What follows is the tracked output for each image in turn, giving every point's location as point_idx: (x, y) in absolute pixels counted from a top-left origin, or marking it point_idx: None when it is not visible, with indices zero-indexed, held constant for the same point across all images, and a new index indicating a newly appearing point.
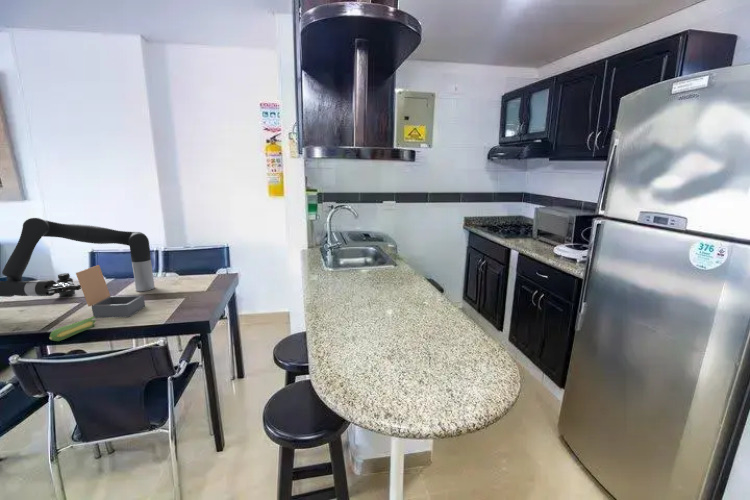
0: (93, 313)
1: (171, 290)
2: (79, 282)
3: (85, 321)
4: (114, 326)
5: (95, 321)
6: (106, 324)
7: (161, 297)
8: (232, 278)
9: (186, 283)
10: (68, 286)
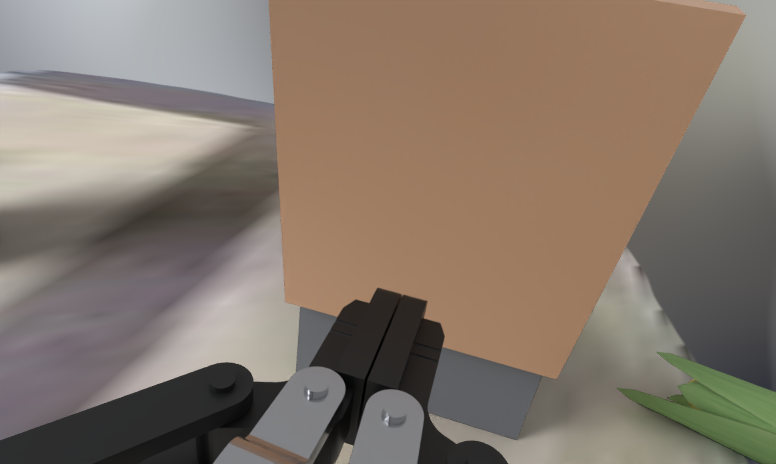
0: (526, 409)
1: (124, 176)
2: (666, 162)
3: (755, 385)
4: (654, 319)
5: (626, 394)
6: (632, 352)
7: (236, 203)
8: (126, 80)
9: (34, 139)
10: (416, 410)
